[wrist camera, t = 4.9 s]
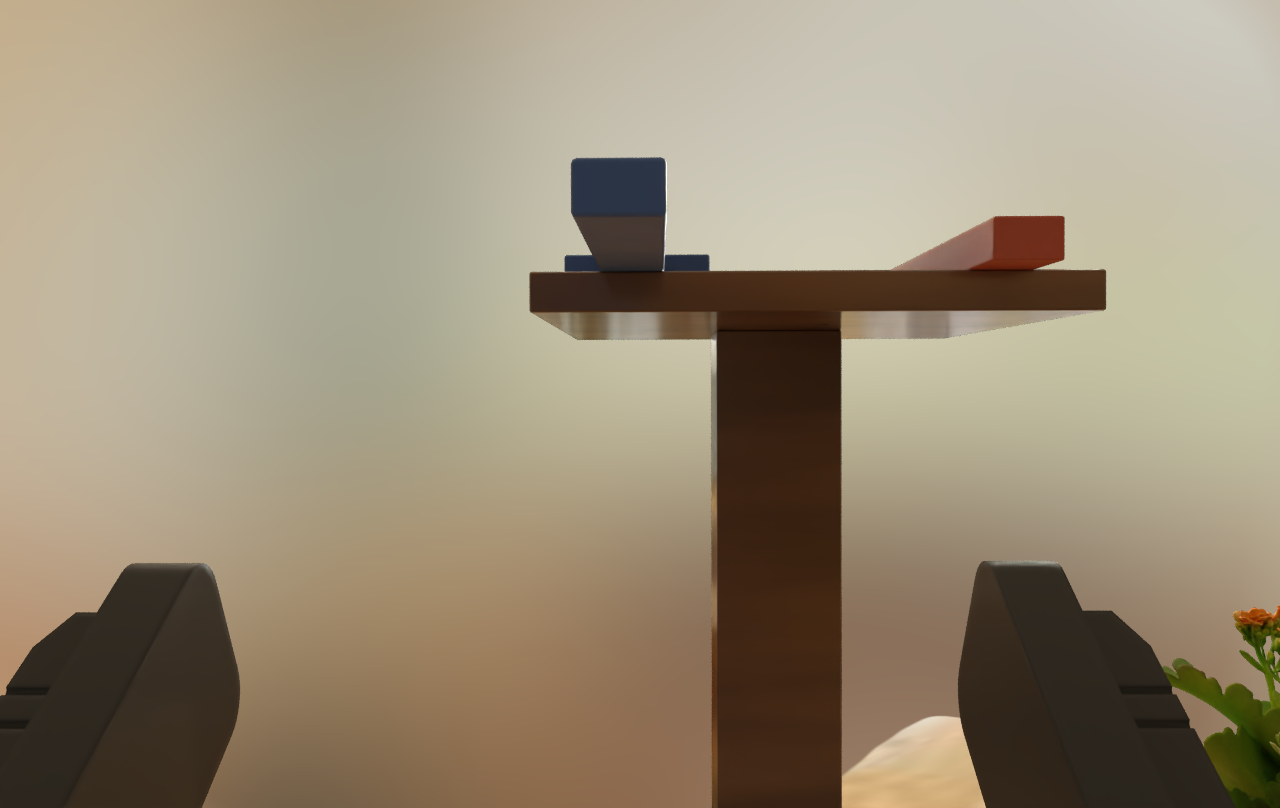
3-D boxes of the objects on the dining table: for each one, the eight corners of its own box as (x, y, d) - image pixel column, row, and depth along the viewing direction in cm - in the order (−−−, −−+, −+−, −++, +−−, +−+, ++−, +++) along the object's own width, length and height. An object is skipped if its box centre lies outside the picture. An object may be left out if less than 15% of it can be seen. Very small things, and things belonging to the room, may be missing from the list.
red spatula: (1128, 259, 26) (1128, 206, 26) (931, 260, 26) (931, 207, 26) (914, 318, 48) (914, 289, 48) (807, 318, 48) (807, 289, 48)
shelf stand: (1103, 1573, 29) (1106, 268, 28) (534, 1566, 29) (529, 271, 28) (944, 1149, 45) (945, 312, 44) (578, 1146, 45) (575, 313, 44)
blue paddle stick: (750, 215, 19) (750, 143, 19) (486, 217, 19) (486, 145, 19) (702, 307, 41) (702, 273, 41) (578, 308, 41) (578, 274, 41)
